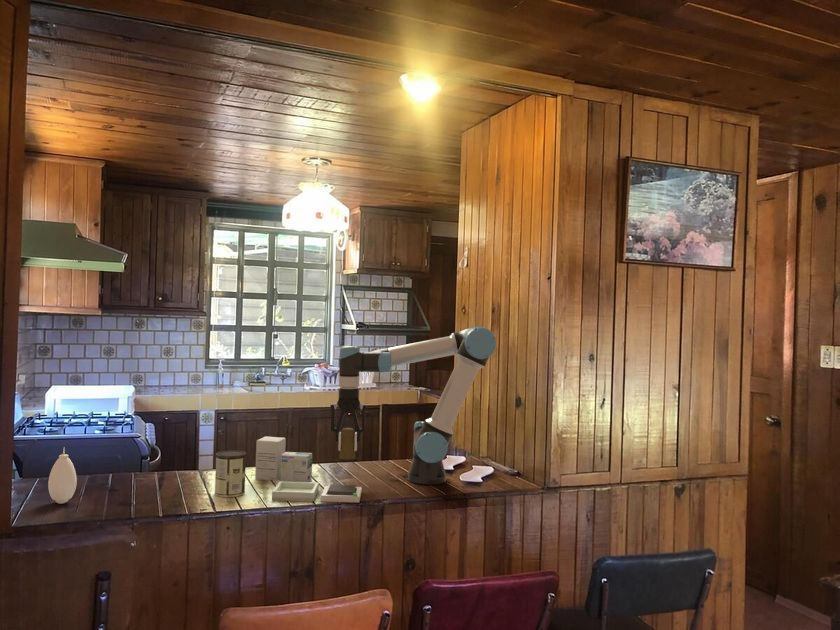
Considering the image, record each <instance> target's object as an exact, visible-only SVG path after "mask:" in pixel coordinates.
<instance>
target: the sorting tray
mask: <svg viewBox="0 0 840 630" xmlns="http://www.w3.org/2000/svg"><path fill="white" fill-rule="evenodd" d="M319 484H320V483H319V482H312V481H310V482H282V481H280V480H279V482H278V483H277V484H276V485H275V487H274V488H273V490H272V492H271V501H277V502H280V501H283V502H285V501H286V502H311V503H312V502H314V501H315V499H316V497H317V495H318V493H319V489H320V488H319V486H320V485H319Z"/></svg>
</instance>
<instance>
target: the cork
mask: <svg viewBox="0 0 840 630" xmlns="http://www.w3.org/2000/svg"><path fill="white" fill-rule="evenodd" d="M340 432H341V451H339V457H338V458H339V460H340V459H341V460H354V459H355V460H356V451H354V448H355V432H356V429H354V428H352V427H343V428H342V429H341V430H340Z"/></svg>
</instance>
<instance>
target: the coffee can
mask: <svg viewBox="0 0 840 630" xmlns="http://www.w3.org/2000/svg"><path fill="white" fill-rule="evenodd" d="M246 462H247V452H246V451H243V450H222V451H217V452H216V453H215V475H214V476H215V477H214V479H215V481H214V496H215V497H219V498H236V497H241V496H243V495H245V493H246V491H245V490H246V466H247V465H246V464H247V463H246Z"/></svg>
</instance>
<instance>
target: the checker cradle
mask: <svg viewBox="0 0 840 630" xmlns="http://www.w3.org/2000/svg"><path fill="white" fill-rule="evenodd" d="M329 487H330V485H325V486H324V488H323V491H322V493H321V494H320V502H325V503H326V502H329V503H331V502H332V503H333V502H334V503H360V500H361V497H362V486H356V490H355V493H353V495H328V489H329Z"/></svg>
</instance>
